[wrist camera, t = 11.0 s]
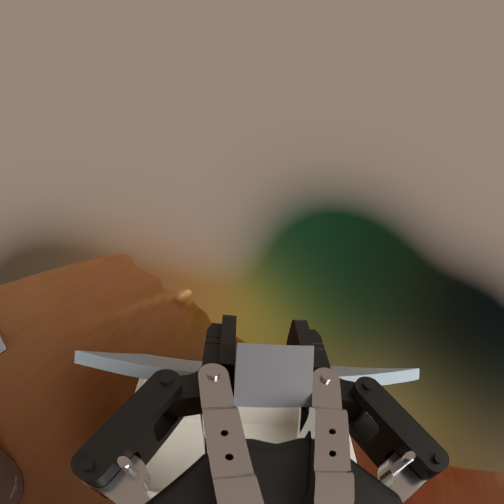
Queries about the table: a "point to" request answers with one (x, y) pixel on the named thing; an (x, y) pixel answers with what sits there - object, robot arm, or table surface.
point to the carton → (192, 448)
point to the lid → (250, 372)
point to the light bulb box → (2, 344)
